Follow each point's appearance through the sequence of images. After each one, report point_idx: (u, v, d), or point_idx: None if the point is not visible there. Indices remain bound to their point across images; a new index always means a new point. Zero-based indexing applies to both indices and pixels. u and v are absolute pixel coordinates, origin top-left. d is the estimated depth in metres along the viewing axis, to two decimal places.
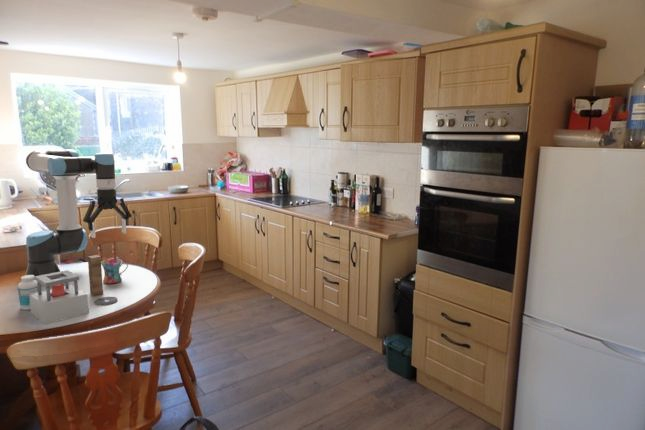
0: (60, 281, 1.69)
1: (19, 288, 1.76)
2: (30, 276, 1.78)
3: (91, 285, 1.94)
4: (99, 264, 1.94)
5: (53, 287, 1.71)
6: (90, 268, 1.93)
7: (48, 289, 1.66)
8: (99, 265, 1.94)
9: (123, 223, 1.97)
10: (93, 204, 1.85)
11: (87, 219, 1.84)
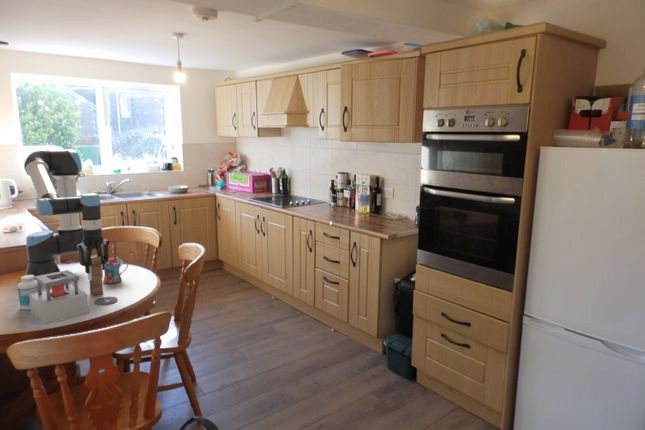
0: (60, 281, 1.69)
1: (19, 288, 1.76)
2: (30, 276, 1.78)
3: (91, 285, 1.94)
4: (99, 264, 1.94)
5: (53, 287, 1.71)
6: None
7: (48, 289, 1.66)
8: (99, 265, 1.94)
9: None
10: (81, 248, 1.88)
11: (83, 263, 1.89)
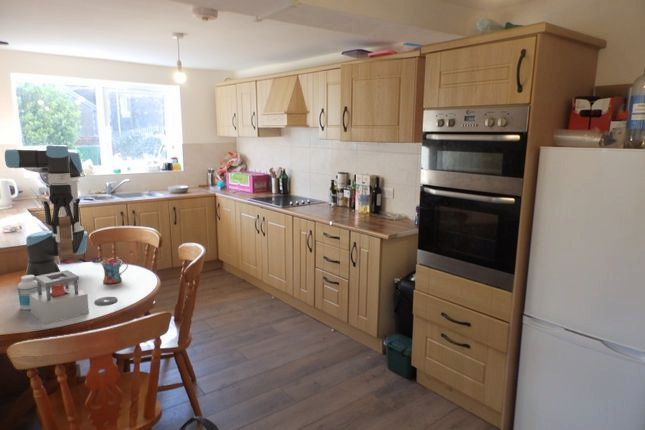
0: (60, 281, 1.69)
1: (19, 288, 1.76)
2: (30, 276, 1.78)
3: (59, 248, 1.74)
4: (68, 224, 1.74)
5: (53, 287, 1.71)
6: None
7: (48, 289, 1.66)
8: (68, 225, 1.74)
9: None
10: (47, 205, 1.68)
11: (49, 222, 1.69)
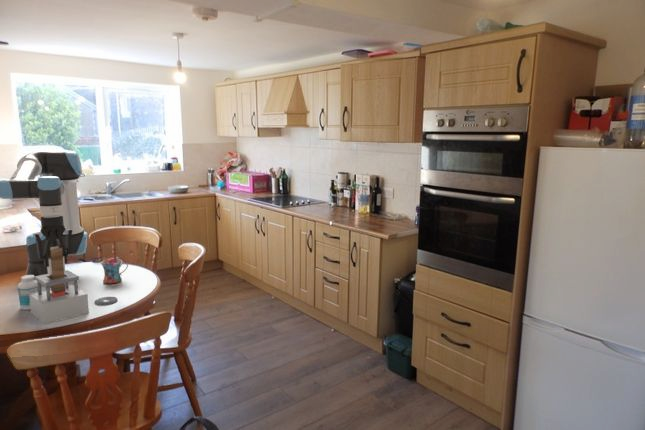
0: (60, 281, 1.69)
1: (19, 288, 1.76)
2: (30, 276, 1.78)
3: None
4: (60, 256, 1.71)
5: (54, 293, 1.72)
6: None
7: (48, 289, 1.66)
8: (60, 258, 1.71)
9: None
10: (38, 238, 1.65)
11: (41, 255, 1.66)
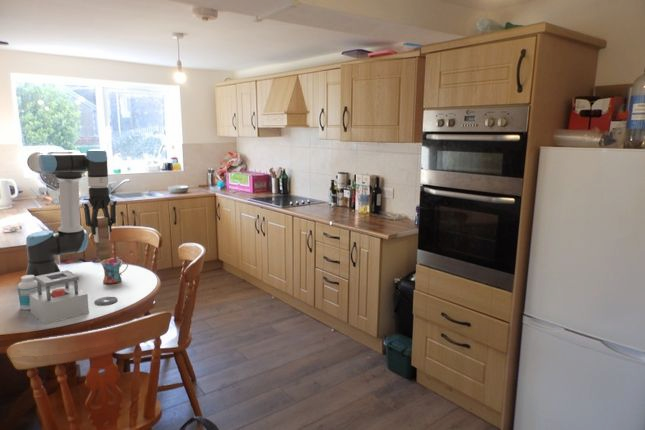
0: (60, 281, 1.69)
1: (19, 288, 1.76)
2: (30, 276, 1.78)
3: (97, 248, 1.83)
4: (106, 225, 1.82)
5: (54, 293, 1.72)
6: None
7: (48, 289, 1.66)
8: (106, 226, 1.82)
9: None
10: (87, 207, 1.76)
11: (89, 223, 1.78)
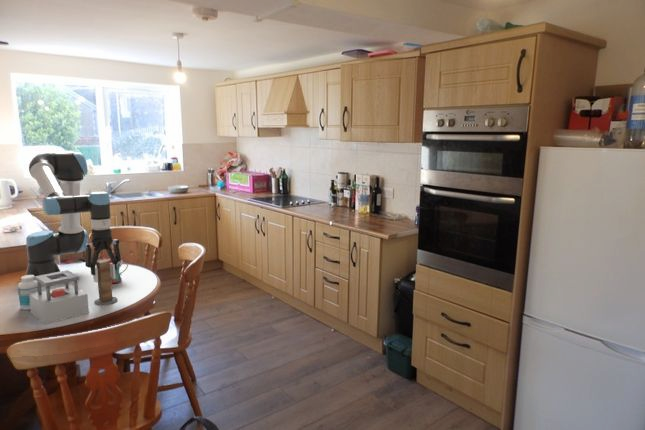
0: (60, 281, 1.69)
1: (19, 288, 1.76)
2: (30, 276, 1.78)
3: (100, 290, 1.86)
4: (108, 269, 1.85)
5: (54, 293, 1.72)
6: (99, 273, 1.84)
7: (48, 289, 1.66)
8: (108, 270, 1.85)
9: (112, 268, 1.88)
10: (89, 248, 1.79)
11: (89, 264, 1.80)
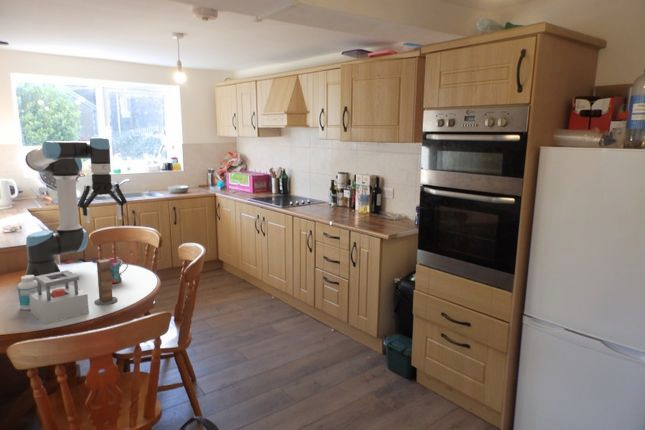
0: (60, 281, 1.69)
1: (19, 288, 1.76)
2: (30, 276, 1.78)
3: (100, 290, 1.86)
4: (109, 269, 1.85)
5: (54, 293, 1.72)
6: (99, 273, 1.84)
7: (48, 289, 1.66)
8: (109, 270, 1.86)
9: (118, 209, 1.94)
10: (88, 189, 1.83)
11: (81, 204, 1.82)
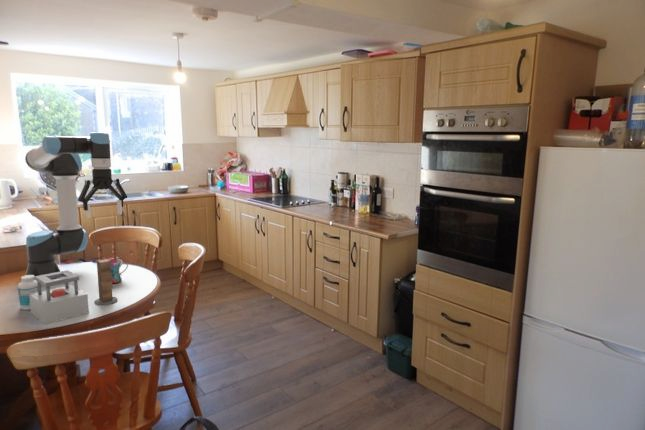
0: (60, 281, 1.69)
1: (19, 288, 1.76)
2: (30, 276, 1.78)
3: (100, 290, 1.86)
4: (109, 269, 1.85)
5: (54, 293, 1.72)
6: (99, 273, 1.84)
7: (48, 289, 1.66)
8: (109, 270, 1.86)
9: (119, 204, 1.95)
10: (88, 183, 1.83)
11: (82, 198, 1.82)
